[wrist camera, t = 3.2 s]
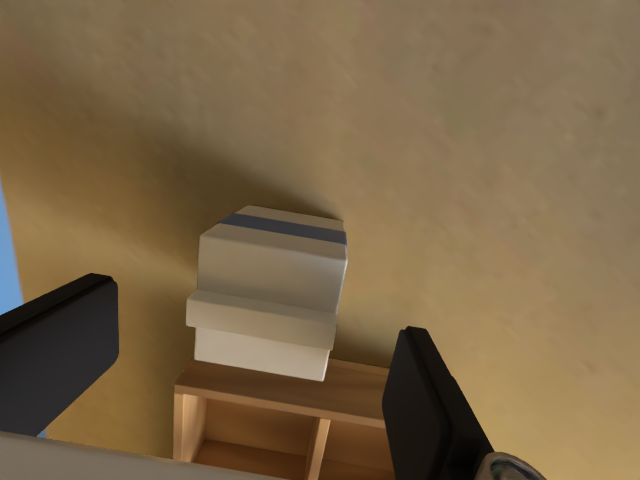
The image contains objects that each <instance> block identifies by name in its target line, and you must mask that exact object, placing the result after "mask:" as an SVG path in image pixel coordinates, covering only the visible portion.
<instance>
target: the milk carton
mask: <svg viewBox="0 0 640 480" xmlns="http://www.w3.org/2000/svg"><path fill="white" fill-rule="evenodd" d="M346 249H347V239H346V232H345V229H344V221H341V220H335V219H329V218H323V217H317V216H311V215H305V214H299V213H294V212H288V211H282V210H276V209H270V208H264V207H258V206H252V205H247V206H246V207H244V208H242V209H241V210H239V211H238V212H236V213H232V214H230V215H229V216H227V217H226V218H224V219H222V220H221V221H219V222H218V223H217V225H215V226H214V227H212V228H210V229H209V230H207V231H206V232H204V233H202V234H201V235H200V236H199V255H198V278H197V290H195V291H194V292H193V293H192V294H191V295H190V296H189V297H188V298H187V301H186V326H191V327H195V348H194V359H195V360H200V361H205V362H211V363H217V364H223V365H229V366H235V367H241V368H246V369H252V370H258V371H264V372H270V373H276V374H281V375H287V376H293V377H299V378H305V379H311V380H316V381H323V380H324V377H325V372H326V367H327V362H328V357H329V352H330V350H332V349H333V344H334V339H335V334H336V330H337V312H338V307H339V302H340V297H341V292H342V287H343V282H344V277H345V272H346V267H347V262H348V261H347V250H346Z"/></svg>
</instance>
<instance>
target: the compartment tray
mask: <svg viewBox="0 0 640 480" xmlns="http://www.w3.org/2000/svg"><path fill="white" fill-rule="evenodd" d="M389 370H390V369H389V368H383V367H377V366H371V365H365V364H359V363H354V362H348V361H342V360H336V359H330V358H328V362H327V367H326V372H325V377H324V380H323V381H316V380H311V379H305V378H299V377H293V376H287V375H281V374H276V373H270V372H264V371H258V370H252V369H246V368H241V367H235V366H229V365H223V364H217V363H211V362H205V361H200V360H195V359H194V356H193V358H192V359H191V361H190V362H189V364H188V365H187V366H186V368H185V369H184V371H183V372H182V374H181V375H180V376H179V378H178V379H177V381H176V382H175V384H174V419H173V460H179V461H185V462H191V463H197V464H202V465H208V466H214V467H220V468H226V469H232V470H237V471H243V472H249V473H254V474H260V475H266V476H272V477H277V478H283V479H289V480H396V479H395V474H394V469H393V464H392V458H391V453H390V448H389V443H388V437H387V432H386V427H385V422H384V416H383V411H382V397H383V393H384V389H385V385H386V381H387V378H388V374H389Z"/></svg>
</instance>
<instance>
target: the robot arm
mask: <svg viewBox="0 0 640 480" xmlns="http://www.w3.org/2000/svg"><path fill="white" fill-rule="evenodd" d="M118 355H119V329H118V286H117V283H116V282H115V281H114V280H113V278H112V277H111V276H107V275H101V274H95V273H89V274H87V275H85V276H83V277H80V278H78V279H76V280H74V281H72V282H70V283H68V284H66V285H63V286H61V287H59V288H57V289H55V290H53V291H51V292H49V293H47V294H44V295H42V296H40V297H38V298H36V299H34V300H32V301H30V302H27V303H25V304H23V305H21V306H19V307H17V308H15V309H13V310H11V311H8V312H6V313H4V314H2V315H0V480H289V479H283V478H277V477H272V476H266V475H260V474H254V473H249V472H243V471H237V470H232V469H226V468H220V467H214V466H208V465H202V464H197V463H191V462H185V461H179V460H173V459H167V458H161V457H155V456H149V455H143V454H137V453H131V452H125V451H119V450H113V449H107V448H101V447H95V446H89V445H84V444H77V443H71V442H65V441H59V440H53V439H46V438H40V437H36V436H37V435H38V434H39V433H40V432H41V431H43V430H44V429H45V428H46V427H47V426H48V425H49V424H50V423H51V422H52V421H53V420H54V419H55V418H56V417H58V416H59V415H60V414H61V413H62V412H63V411H64V410H65V409H66V408H67V407H68V406H69V405H70V404H71V403H72V402H74V401H75V400H76V399H77V398H78V397H79V396H80V395H81V394H82V393H83V392H84V391H85V390H86V389H87V388H89V387H90V386H91V385H92V384H93V383H94V382H95V381H96V380H97V379H98V378H99V377H100V376H101V375H102V374H103V373H105V372H106V371H107V370H108V369H109V368H110V367H111V366H112V365H113V364H114V363H115V361H116V360H117V358H118ZM382 411H383V416H384V422H385V427H386V432H387V437H388V443H389V448H390V453H391V458H392V464H393V469H394V474H395V479H396V480H547V479H546V478H545V477H544V476H543V475H542V474H541V473H540V472H538V471H537V470H536V469H535V468H533V467H532V466H531V465H529V464H528V463H526V462H525V461H523V460H521V459H519V458H517V457H516V456H513V455H510V454H507V453H504V452H495V451H494V450H493V448H492V446H491V444H490V442H489V440H488V439H487V437H486V435H485V433H484V431H483V429H482V428H481V426H480V424H479V422H478V420H477V418H476V417H475V415H474V413H473V411H472V409H471V407H470V406H469V404H468V402H467V400H466V398H465V396H464V395H463V393H462V391H461V389H460V387H459V385H458V384H457V382H456V380H455V379H454V377H453V376H451V374H450V372H449V370H448V369H447V367H446V365H445V363H444V361H443V359H442V357H441V356H440V354H439V352H438V350H437V348H436V346H435V344H434V342H433V341H432V339H431V337H430V335H429V333H428V331H427V330H426V329H423V328H417V327H411V326H408V327H407V328H406V329H405V330H402V329H401V330H400V332H399V336H398V340H397V343H396V347H395V351H394V355H393V359H392V362H391V366H390V370H389V374H388V378H387V381H386V385H385V389H384V393H383V397H382Z"/></svg>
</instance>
